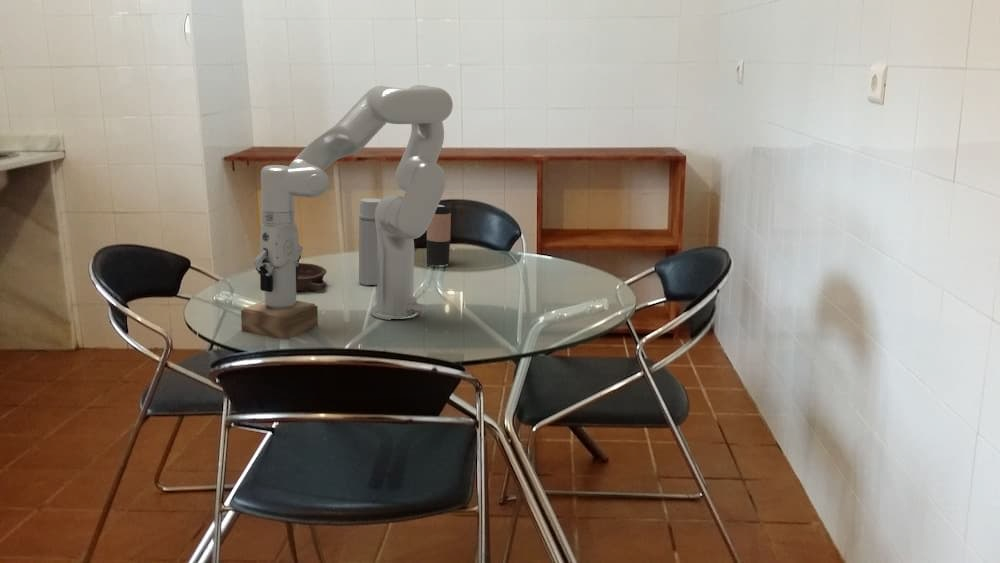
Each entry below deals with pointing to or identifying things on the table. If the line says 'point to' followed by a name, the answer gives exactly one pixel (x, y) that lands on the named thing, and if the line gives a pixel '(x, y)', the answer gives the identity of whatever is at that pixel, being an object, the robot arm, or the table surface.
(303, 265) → the dish
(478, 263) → the table surface
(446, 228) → the travel mug
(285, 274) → the can
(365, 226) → the water bottle
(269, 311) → the plinth
